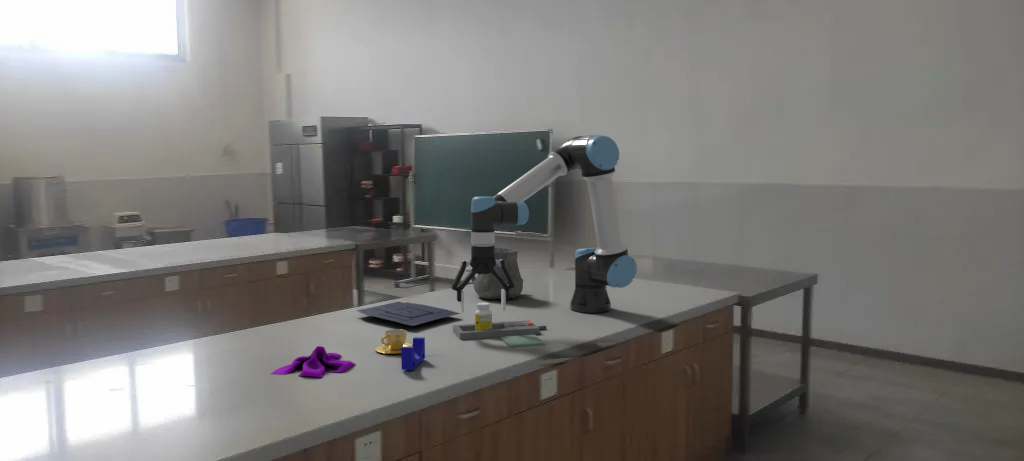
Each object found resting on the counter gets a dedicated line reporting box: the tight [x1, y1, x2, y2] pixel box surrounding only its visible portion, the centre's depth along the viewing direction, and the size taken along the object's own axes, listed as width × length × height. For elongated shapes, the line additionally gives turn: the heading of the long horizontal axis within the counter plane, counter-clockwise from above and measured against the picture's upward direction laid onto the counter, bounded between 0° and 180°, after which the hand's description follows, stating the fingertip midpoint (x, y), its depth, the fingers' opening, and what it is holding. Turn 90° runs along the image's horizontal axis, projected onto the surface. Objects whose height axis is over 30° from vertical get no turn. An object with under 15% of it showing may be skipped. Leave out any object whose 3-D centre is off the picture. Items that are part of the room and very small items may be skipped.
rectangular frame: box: [452, 319, 547, 340], centre depth 240 cm, size 30×12×3 cm, turn 105°
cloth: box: [270, 345, 356, 378], centre depth 202 cm, size 22×19×6 cm
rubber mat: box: [500, 334, 546, 348], centre depth 228 cm, size 11×11×1 cm
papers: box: [356, 301, 462, 327], centre depth 260 cm, size 24×30×4 cm
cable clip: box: [400, 336, 426, 371], centre depth 204 cm, size 12×4×6 cm, turn 171°
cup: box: [375, 328, 413, 354], centre depth 220 cm, size 12×12×5 cm
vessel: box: [470, 247, 524, 301], centre depth 298 cm, size 22×22×20 cm
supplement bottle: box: [474, 302, 493, 331], centre depth 238 cm, size 5×5×10 cm
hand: (482, 310), depth 238 cm, fingers open, 13 cm apart
